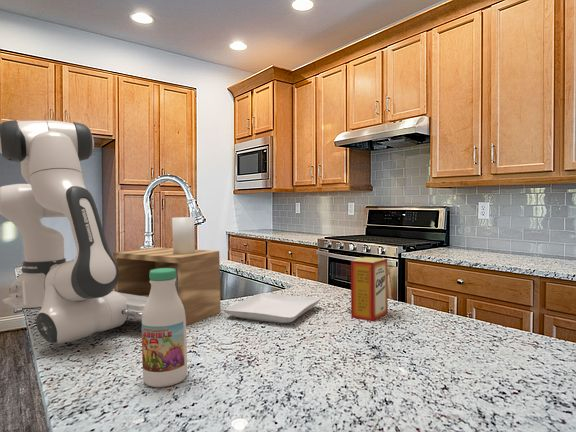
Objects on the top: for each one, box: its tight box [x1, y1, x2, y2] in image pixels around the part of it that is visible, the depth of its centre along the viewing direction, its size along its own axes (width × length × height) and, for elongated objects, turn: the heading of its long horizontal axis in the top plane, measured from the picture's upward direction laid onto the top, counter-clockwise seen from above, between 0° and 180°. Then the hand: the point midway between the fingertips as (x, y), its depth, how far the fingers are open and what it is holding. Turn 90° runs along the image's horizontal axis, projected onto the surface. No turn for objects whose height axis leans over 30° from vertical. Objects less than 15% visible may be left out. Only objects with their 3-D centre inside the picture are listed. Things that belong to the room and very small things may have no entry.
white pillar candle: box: [171, 216, 196, 254], centre depth 109 cm, size 6×6×10 cm
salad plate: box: [224, 292, 322, 324], centre depth 112 cm, size 21×21×3 cm
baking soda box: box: [350, 256, 389, 323], centre depth 108 cm, size 10×6×16 cm
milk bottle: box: [141, 268, 188, 388], centre depth 71 cm, size 8×8×20 cm
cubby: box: [112, 246, 222, 327], centre depth 113 cm, size 27×15×18 cm, turn 61°
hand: (154, 298), depth 109 cm, fingers closed, pressing on foam cup
